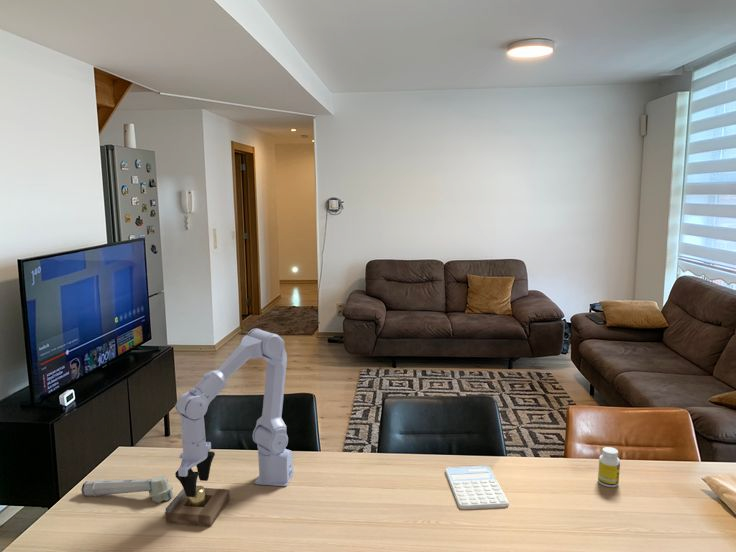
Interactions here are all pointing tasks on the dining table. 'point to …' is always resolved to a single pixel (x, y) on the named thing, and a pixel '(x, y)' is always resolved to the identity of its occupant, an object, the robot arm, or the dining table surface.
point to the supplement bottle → (609, 467)
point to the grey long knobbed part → (130, 487)
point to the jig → (197, 508)
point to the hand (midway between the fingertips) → (197, 487)
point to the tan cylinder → (198, 497)
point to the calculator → (476, 487)
